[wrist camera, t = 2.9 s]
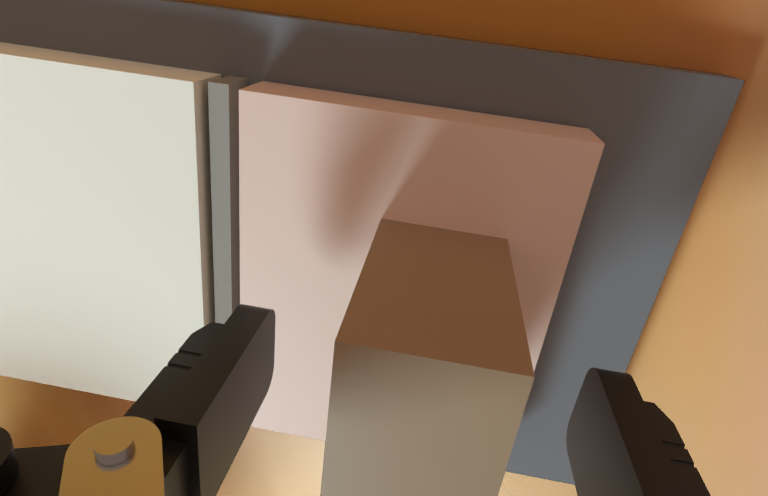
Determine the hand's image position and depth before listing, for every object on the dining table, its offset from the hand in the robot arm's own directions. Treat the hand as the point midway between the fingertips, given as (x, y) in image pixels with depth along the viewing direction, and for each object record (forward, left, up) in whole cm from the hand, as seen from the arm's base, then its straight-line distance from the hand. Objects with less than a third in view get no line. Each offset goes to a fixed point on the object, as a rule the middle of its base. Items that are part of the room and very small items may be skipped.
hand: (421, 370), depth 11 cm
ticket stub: (+1, 0, -4) cm, 4 cm away
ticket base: (+6, 0, -5) cm, 8 cm away
